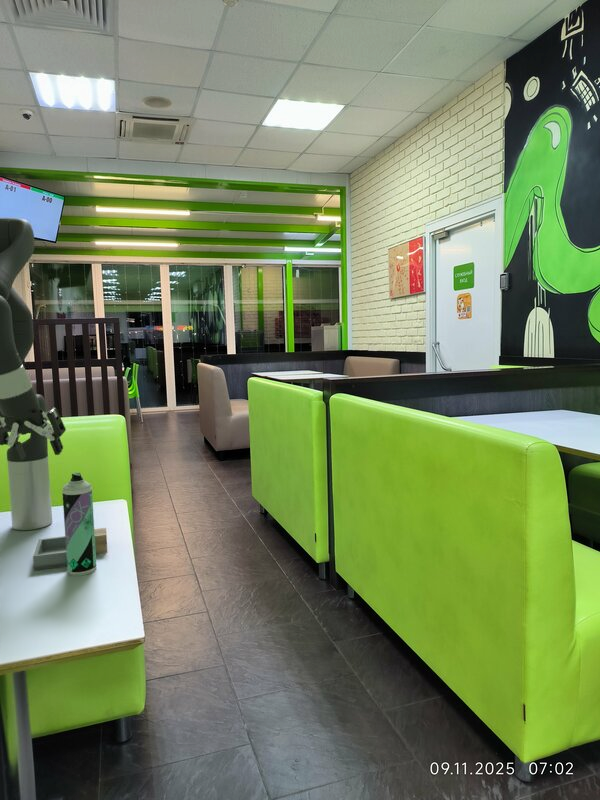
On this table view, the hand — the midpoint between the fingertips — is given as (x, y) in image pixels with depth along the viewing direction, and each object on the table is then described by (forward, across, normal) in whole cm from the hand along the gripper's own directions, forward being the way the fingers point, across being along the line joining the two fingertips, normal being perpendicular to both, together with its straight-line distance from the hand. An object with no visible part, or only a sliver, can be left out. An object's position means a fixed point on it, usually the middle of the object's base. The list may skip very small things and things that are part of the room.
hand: (40, 455), depth 123 cm
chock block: (+21, -9, +8) cm, 25 cm away
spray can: (+18, -11, +18) cm, 28 cm away
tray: (+19, -4, +12) cm, 23 cm away
